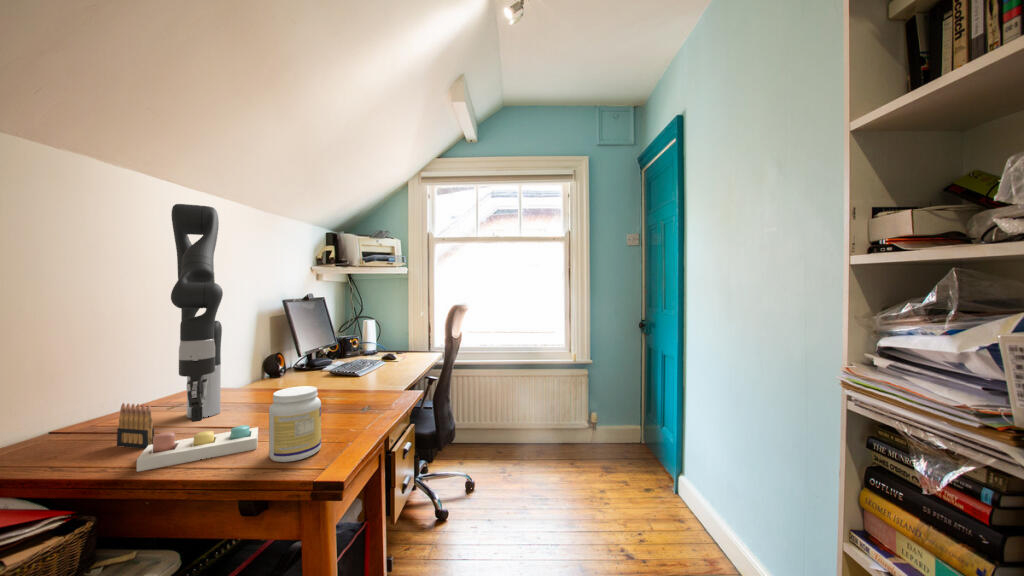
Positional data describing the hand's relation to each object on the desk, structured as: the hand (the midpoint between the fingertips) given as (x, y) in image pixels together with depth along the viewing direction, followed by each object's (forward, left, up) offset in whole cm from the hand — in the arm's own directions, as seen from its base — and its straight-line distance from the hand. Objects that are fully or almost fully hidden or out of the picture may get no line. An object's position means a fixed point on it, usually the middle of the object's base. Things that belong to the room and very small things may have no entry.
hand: (197, 420), depth 100 cm
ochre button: (0, +2, -8) cm, 8 cm away
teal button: (0, +9, -8) cm, 12 cm away
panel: (0, +2, -9) cm, 9 cm away
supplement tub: (+14, +23, -9) cm, 28 cm away
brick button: (0, -7, -7) cm, 9 cm away
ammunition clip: (-16, -15, -9) cm, 24 cm away
